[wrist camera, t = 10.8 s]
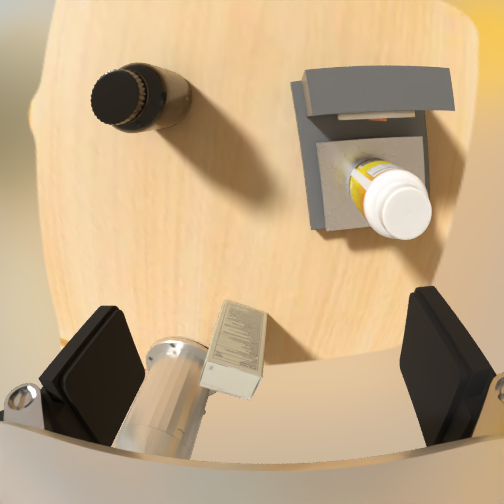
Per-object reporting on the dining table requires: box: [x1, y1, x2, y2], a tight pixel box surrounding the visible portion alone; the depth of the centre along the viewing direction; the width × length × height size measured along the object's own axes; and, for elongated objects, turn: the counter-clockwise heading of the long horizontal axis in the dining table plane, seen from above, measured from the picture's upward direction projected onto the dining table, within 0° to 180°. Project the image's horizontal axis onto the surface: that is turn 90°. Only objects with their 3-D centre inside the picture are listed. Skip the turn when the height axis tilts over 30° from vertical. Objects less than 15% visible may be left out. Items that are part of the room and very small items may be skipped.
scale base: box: [291, 66, 455, 230], centre depth 28 cm, size 16×14×11 cm
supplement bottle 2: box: [348, 158, 432, 240], centre depth 25 cm, size 6×6×10 cm
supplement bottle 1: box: [91, 63, 191, 133], centre depth 27 cm, size 7×7×12 cm
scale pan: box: [316, 136, 425, 231], centre depth 31 cm, size 9×11×2 cm
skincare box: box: [199, 300, 268, 400], centre depth 38 cm, size 6×4×12 cm
